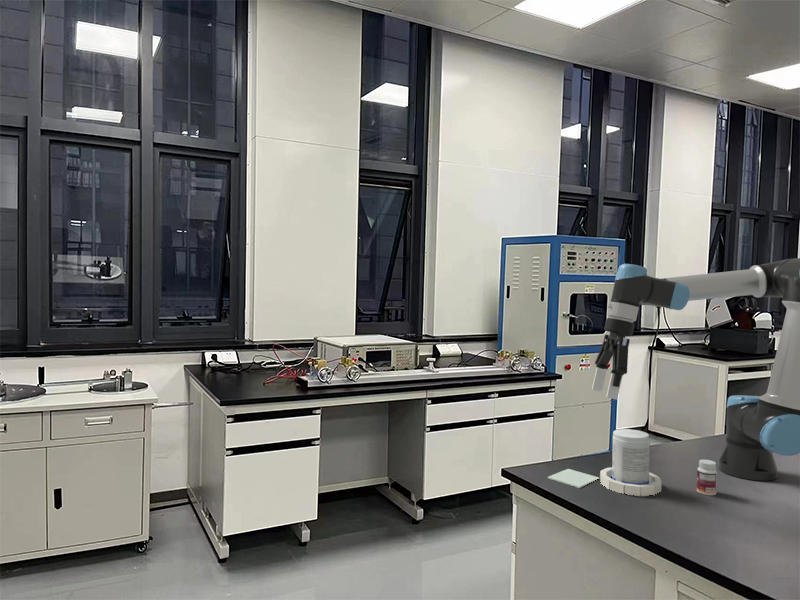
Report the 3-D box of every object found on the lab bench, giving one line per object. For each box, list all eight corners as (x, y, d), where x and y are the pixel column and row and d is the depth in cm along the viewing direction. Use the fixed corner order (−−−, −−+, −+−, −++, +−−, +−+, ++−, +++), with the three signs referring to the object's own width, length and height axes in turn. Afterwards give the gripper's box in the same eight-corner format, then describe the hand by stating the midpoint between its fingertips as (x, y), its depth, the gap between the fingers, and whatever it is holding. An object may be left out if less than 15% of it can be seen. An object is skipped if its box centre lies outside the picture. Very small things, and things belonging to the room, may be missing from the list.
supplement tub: (656, 487, 155) (657, 434, 155) (635, 494, 150) (636, 439, 149) (624, 477, 163) (626, 426, 163) (604, 483, 158) (605, 431, 158)
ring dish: (670, 486, 156) (670, 477, 156) (645, 500, 146) (645, 491, 146) (616, 471, 168) (616, 463, 168) (589, 484, 157) (590, 475, 157)
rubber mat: (599, 479, 161) (599, 477, 161) (579, 488, 154) (579, 486, 154) (568, 470, 169) (568, 468, 169) (547, 478, 161) (547, 476, 161)
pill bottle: (699, 487, 156) (700, 457, 155) (718, 492, 152) (720, 461, 152) (693, 492, 152) (694, 461, 152) (713, 497, 149) (714, 465, 149)
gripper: (594, 315, 169) (578, 384, 169) (622, 317, 144) (604, 398, 144) (619, 321, 169) (603, 390, 169) (651, 324, 144) (633, 405, 144)
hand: (603, 394), depth 156 cm, fingers open, 13 cm apart
